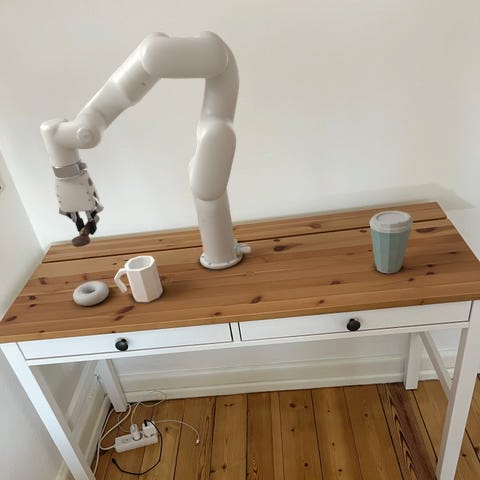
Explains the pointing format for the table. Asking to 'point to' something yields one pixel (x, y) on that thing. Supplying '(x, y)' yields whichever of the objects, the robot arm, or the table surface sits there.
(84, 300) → the donut
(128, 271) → the mug
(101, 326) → the table surface
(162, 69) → the robot arm
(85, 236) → the spoon
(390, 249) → the disposable coffee cup
